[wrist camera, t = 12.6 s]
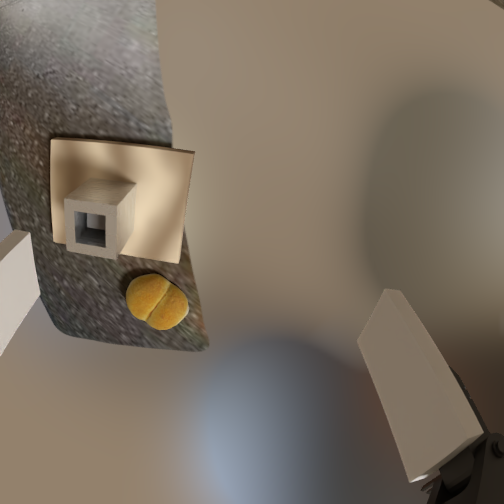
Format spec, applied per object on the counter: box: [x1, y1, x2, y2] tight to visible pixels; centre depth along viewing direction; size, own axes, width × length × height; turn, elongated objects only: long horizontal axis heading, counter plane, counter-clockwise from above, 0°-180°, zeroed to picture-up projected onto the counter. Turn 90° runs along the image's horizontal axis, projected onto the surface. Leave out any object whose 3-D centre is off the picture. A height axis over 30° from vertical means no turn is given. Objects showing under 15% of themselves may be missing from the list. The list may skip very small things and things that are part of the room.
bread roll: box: [126, 274, 189, 330], centre depth 42 cm, size 8×9×4 cm
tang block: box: [50, 137, 195, 263], centre depth 33 cm, size 18×14×6 cm
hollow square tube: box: [64, 178, 137, 260], centre depth 31 cm, size 6×6×7 cm
